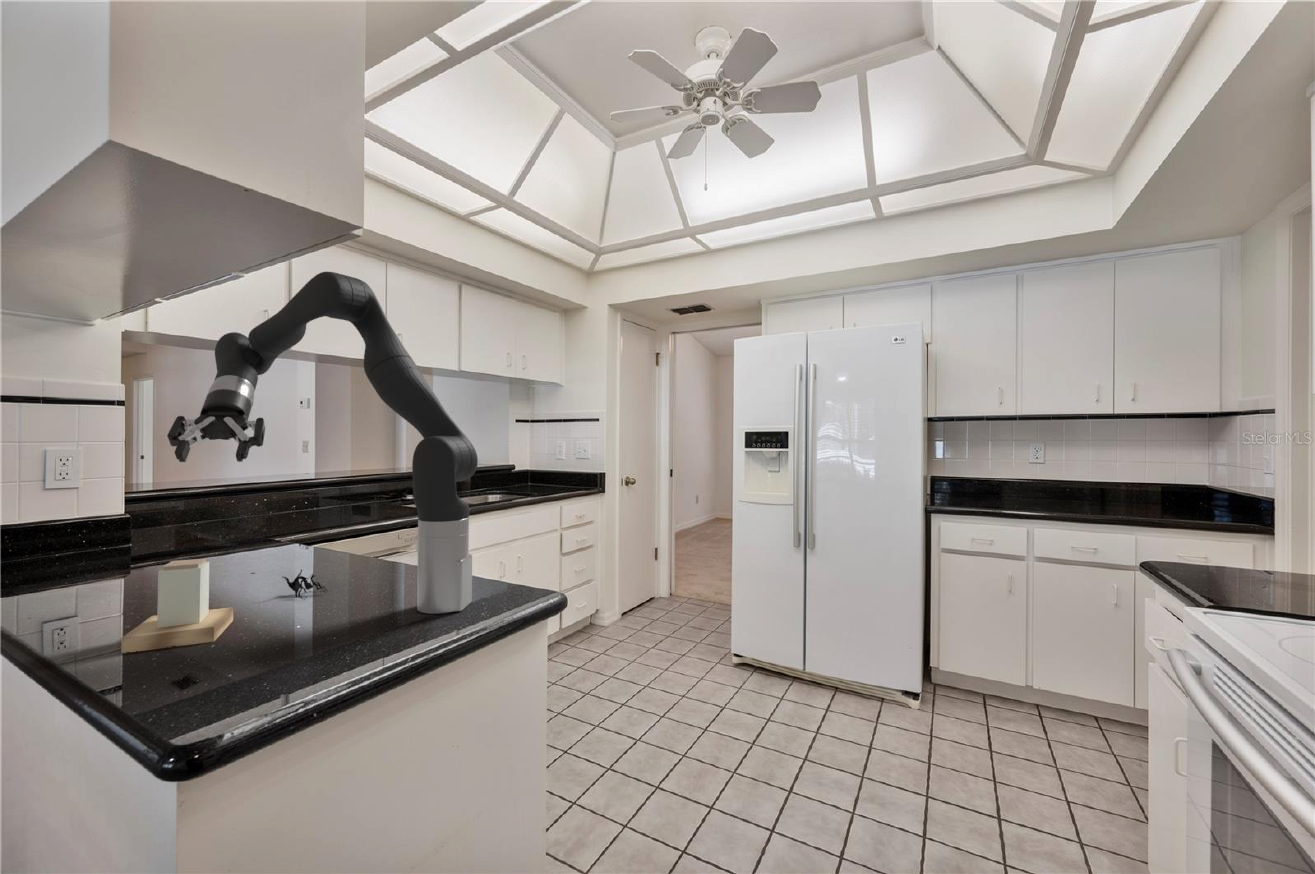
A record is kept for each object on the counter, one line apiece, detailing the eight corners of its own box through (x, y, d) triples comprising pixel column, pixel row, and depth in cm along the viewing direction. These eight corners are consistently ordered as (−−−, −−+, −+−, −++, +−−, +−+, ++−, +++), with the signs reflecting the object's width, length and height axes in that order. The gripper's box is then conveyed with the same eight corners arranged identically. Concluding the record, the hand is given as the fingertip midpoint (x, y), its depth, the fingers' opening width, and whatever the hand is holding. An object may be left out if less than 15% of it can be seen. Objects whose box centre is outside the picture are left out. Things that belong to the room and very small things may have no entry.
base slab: (233, 623, 94) (233, 607, 94) (213, 645, 84) (214, 626, 84) (151, 633, 89) (152, 615, 89) (121, 657, 79) (121, 637, 79)
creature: (335, 594, 114) (298, 586, 114) (341, 570, 114) (304, 562, 114) (313, 606, 106) (273, 597, 106) (319, 580, 106) (280, 571, 106)
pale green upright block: (208, 613, 90) (209, 557, 90) (199, 622, 86) (200, 564, 86) (168, 617, 88) (169, 560, 88) (157, 627, 83) (158, 567, 83)
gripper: (180, 386, 104) (154, 444, 93) (268, 389, 110) (254, 445, 99) (189, 414, 108) (166, 473, 98) (273, 416, 115) (260, 471, 104)
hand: (210, 459), depth 99 cm, fingers open, 8 cm apart
